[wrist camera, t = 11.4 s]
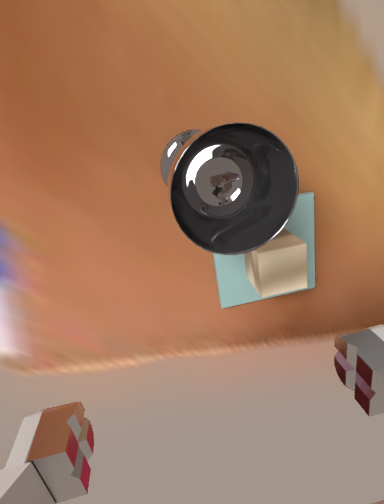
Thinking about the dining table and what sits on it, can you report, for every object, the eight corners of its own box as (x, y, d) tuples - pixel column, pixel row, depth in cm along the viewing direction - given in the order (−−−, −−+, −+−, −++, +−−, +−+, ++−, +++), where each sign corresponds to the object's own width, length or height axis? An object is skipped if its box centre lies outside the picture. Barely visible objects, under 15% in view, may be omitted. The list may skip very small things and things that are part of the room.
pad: (206, 212, 35) (208, 213, 34) (310, 191, 36) (313, 192, 35) (220, 305, 39) (221, 308, 39) (311, 284, 40) (314, 287, 40)
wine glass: (242, 186, 34) (312, 225, 21) (174, 216, 34) (199, 274, 21) (217, 112, 31) (280, 98, 17) (143, 144, 31) (147, 156, 17)
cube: (242, 237, 36) (258, 253, 31) (284, 228, 36) (306, 243, 31) (246, 276, 38) (261, 297, 33) (286, 268, 38) (307, 287, 33)
